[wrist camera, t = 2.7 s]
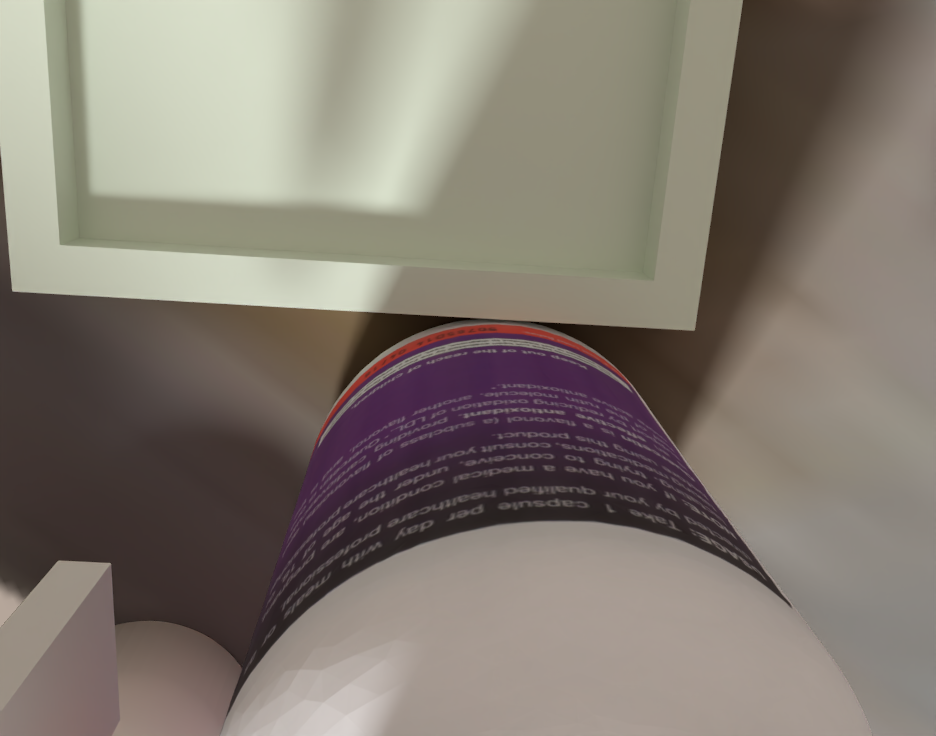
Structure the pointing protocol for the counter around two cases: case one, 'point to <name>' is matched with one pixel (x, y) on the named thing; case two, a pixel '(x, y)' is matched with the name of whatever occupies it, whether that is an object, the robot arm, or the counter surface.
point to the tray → (368, 153)
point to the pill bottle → (520, 566)
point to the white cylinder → (172, 680)
